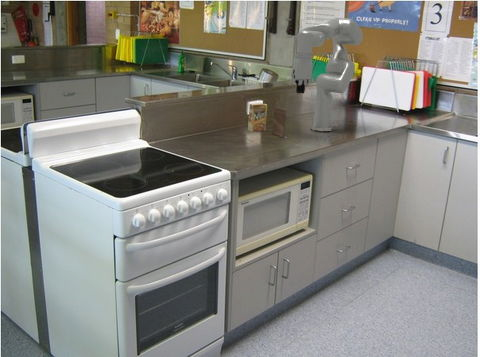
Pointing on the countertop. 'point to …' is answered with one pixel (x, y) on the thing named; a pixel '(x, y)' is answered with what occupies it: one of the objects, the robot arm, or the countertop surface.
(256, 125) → the candy box
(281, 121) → the walnut board
